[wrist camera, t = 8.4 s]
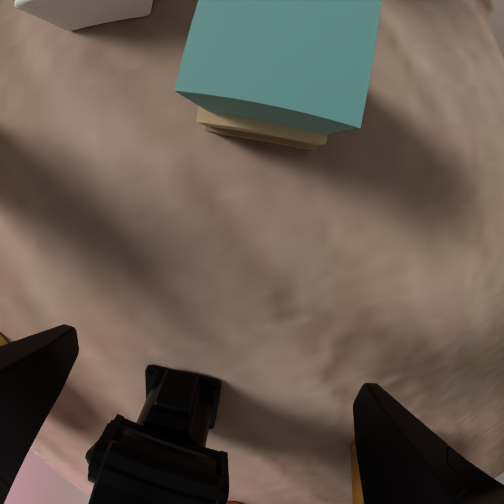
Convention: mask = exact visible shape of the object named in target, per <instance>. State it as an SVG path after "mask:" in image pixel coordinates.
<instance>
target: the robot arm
mask: <svg viewBox="0 0 504 504" xmlns="http://www.w3.org/2000/svg"><path fill="white" fill-rule="evenodd" d="M78 353H79V346H78V338H77V331H76V329H75V328H74V327H72V326H69V325H65V324H63V325H60V326H57V327H54V328H52V329H49V330H46V331H43V332H40V333H37V334H34V335H31V336H28V337H26V338H23V339H20V340H17V341H14V342H11V343H8V344H5V345H2V346H0V504H4V502H5V500H6V497H7V495H8V493H9V491H10V488H11V486H12V484H13V482H14V479H15V477H16V475H17V473H18V471H19V469H20V467H21V465H22V463H23V461H24V459H25V456H26V454H27V453H28V451H29V449H30V447H31V445H32V443H33V441H34V439H35V438H36V436H37V434H38V432H39V430H40V428H41V426H42V425H43V423H44V421H45V419H46V417H47V416H48V414H49V412H50V410H51V408H52V407H53V405H54V403H55V402H56V400H57V398H58V396H59V394H60V393H61V391H62V389H63V387H64V384H65V382H66V380H67V378H68V375H69V373H70V371H71V369H72V367H73V365H74V362H75V360H76V358H77V356H78ZM151 370H152V371H151ZM145 377H146V402H145V404H144V406H143V409H142V411H141V413H140V416H139V418H138V420H137V423H135V422H133V421H130V420H128V419H126V418H124V416H121V415H119V414H117V416H116V417H115V419H114V420H111V422H110V423H108V424H107V426H106V428H105V430H104V432H103V434H102V435H101V437H100V439H99V440H98V441H97V442H96V443H95V444H94V445H93V446H92V447H91V448H90V449H89V450H88V451H87V453H86V457H85V458H86V460H87V462H88V464H89V467H88V471H89V472H88V481H90V482H92V483H94V487H93V490H92V494H91V497H90V500H89V504H227V500H228V495H229V473H228V453H227V452H224V451H216V450H213V449H209V448H206V447H205V446H206V441H207V436H208V430H209V429H213V428H214V425H215V419H216V413H217V408H218V402H219V396H220V391H221V385H222V383H221V381H220V380H218V379H213V378H208V377H203V376H198V375H193V374H189V373H184V372H180V371H175V370H171V369H167V368H163V367H159V366H155V365H148V366H147V368H146V370H145ZM213 384H216V385H213ZM353 415H354V432H355V448H356V455H357V461H358V467H359V474H360V480H361V487H362V494H363V501H364V504H504V485H503V484H501V483H500V482H498V481H496V480H495V479H494V478H492V477H491V476H489V475H488V474H486V473H485V472H483V471H482V470H480V469H479V468H477V467H476V466H475V465H473V464H472V463H470V462H469V461H468V460H466V459H465V458H464V457H462V456H461V455H460V454H459V453H457V452H456V451H455V450H454V449H453V448H452V447H450V446H448V445H447V443H446V442H444V441H443V440H442V439H441V438H440V437H438V436H437V435H436V434H435V433H434V432H433V431H431V430H430V429H429V428H428V427H427V426H426V425H424V424H423V423H422V422H421V421H420V420H418V419H417V418H416V417H415V416H414V415H413V414H411V413H410V412H409V411H408V410H407V409H406V408H405V407H403V406H402V405H401V404H400V403H399V402H398V401H396V400H395V399H394V398H393V397H392V396H391V395H389V394H388V393H387V392H386V391H385V390H384V389H383V388H381V387H380V386H379V385H378V384H376V383H364V384H363V385H362V387H361V389H360V391H359V393H358V395H357V397H356V399H355V401H354V404H353Z"/></svg>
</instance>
